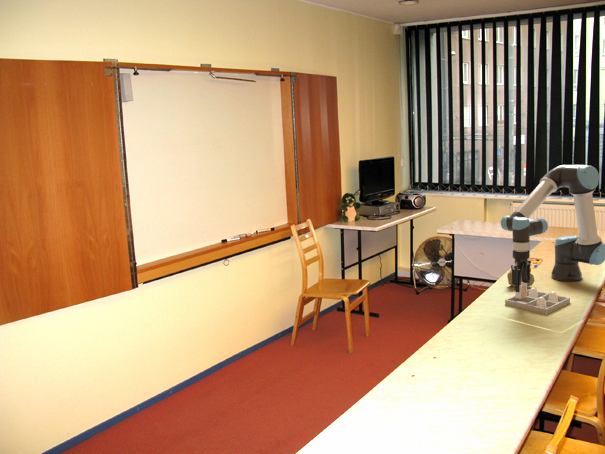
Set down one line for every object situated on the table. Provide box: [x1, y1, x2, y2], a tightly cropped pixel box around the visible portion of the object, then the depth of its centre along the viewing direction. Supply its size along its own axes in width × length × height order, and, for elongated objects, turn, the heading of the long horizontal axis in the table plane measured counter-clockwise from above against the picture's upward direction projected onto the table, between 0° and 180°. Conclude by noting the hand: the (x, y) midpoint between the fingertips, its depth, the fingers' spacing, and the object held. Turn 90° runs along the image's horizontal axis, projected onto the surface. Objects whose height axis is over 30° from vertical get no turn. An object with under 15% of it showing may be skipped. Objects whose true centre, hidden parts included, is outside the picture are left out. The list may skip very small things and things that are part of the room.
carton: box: [504, 288, 571, 315], centre depth 254 cm, size 21×21×3 cm
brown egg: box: [518, 286, 526, 299], centre depth 254 cm, size 4×4×6 cm
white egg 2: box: [537, 297, 546, 309], centre depth 247 cm, size 4×4×6 cm
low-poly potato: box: [507, 268, 535, 288], centre depth 281 cm, size 15×11×12 cm
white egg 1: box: [529, 287, 538, 298], centre depth 260 cm, size 4×4×6 cm
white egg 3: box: [548, 291, 559, 303], centre depth 252 cm, size 4×4×6 cm
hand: (521, 296), depth 254 cm, fingers closed on brown egg, 4 cm apart
